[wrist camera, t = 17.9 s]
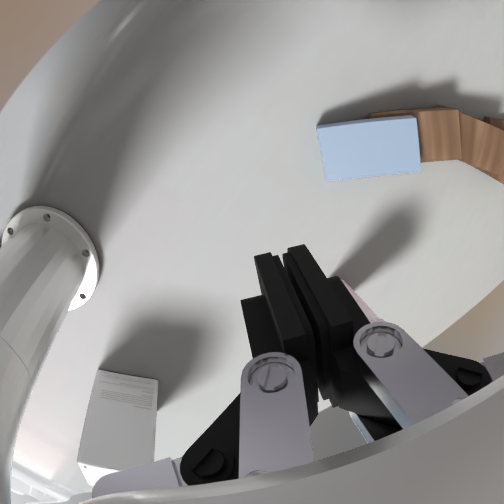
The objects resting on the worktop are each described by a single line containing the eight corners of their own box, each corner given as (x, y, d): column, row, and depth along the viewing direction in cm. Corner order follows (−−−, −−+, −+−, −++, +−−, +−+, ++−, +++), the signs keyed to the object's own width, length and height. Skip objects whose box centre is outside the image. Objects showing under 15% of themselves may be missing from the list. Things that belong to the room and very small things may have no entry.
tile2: (378, 167, 28) (461, 159, 26) (371, 115, 26) (458, 109, 23) (375, 161, 30) (454, 154, 27) (368, 113, 27) (451, 107, 25)
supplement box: (101, 403, 42) (86, 485, 29) (96, 367, 38) (73, 460, 25) (157, 413, 44) (152, 497, 31) (160, 379, 40) (152, 476, 27)
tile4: (467, 163, 29) (518, 193, 28) (481, 124, 26) (532, 158, 26) (461, 159, 30) (511, 188, 30) (475, 122, 28) (524, 154, 27)
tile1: (326, 182, 28) (421, 171, 26) (316, 128, 26) (416, 118, 23) (326, 175, 30) (416, 166, 27) (316, 125, 27) (411, 115, 25)
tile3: (432, 151, 28) (499, 175, 27) (442, 105, 25) (510, 133, 24) (428, 148, 29) (493, 171, 28) (437, 105, 27) (502, 131, 26)
